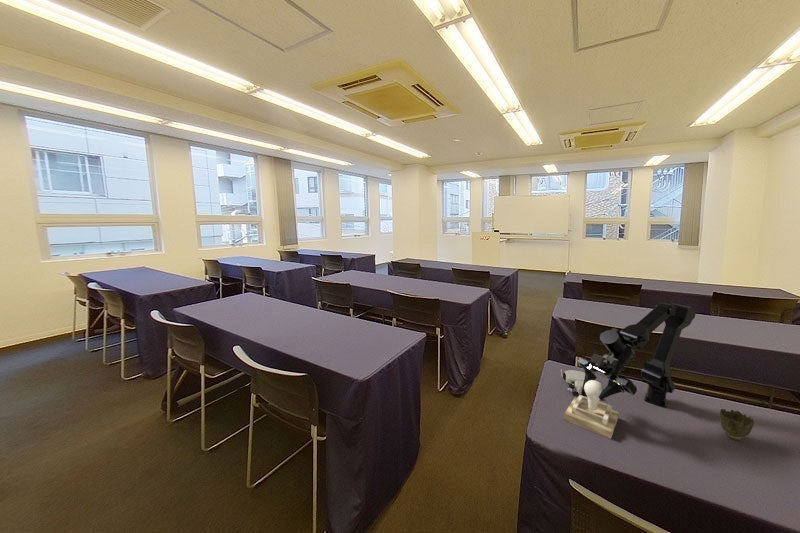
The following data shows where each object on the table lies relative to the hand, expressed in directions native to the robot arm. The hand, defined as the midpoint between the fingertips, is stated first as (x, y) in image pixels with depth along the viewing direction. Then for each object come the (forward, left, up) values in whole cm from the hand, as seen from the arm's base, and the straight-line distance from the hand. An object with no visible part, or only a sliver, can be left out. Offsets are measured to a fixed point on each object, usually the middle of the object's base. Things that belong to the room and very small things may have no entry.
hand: (591, 393), depth 106 cm
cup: (-22, +37, -10) cm, 44 cm away
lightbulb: (-1, +1, -7) cm, 7 cm away
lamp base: (-1, +1, -10) cm, 10 cm away
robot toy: (-21, -8, -11) cm, 25 cm away
